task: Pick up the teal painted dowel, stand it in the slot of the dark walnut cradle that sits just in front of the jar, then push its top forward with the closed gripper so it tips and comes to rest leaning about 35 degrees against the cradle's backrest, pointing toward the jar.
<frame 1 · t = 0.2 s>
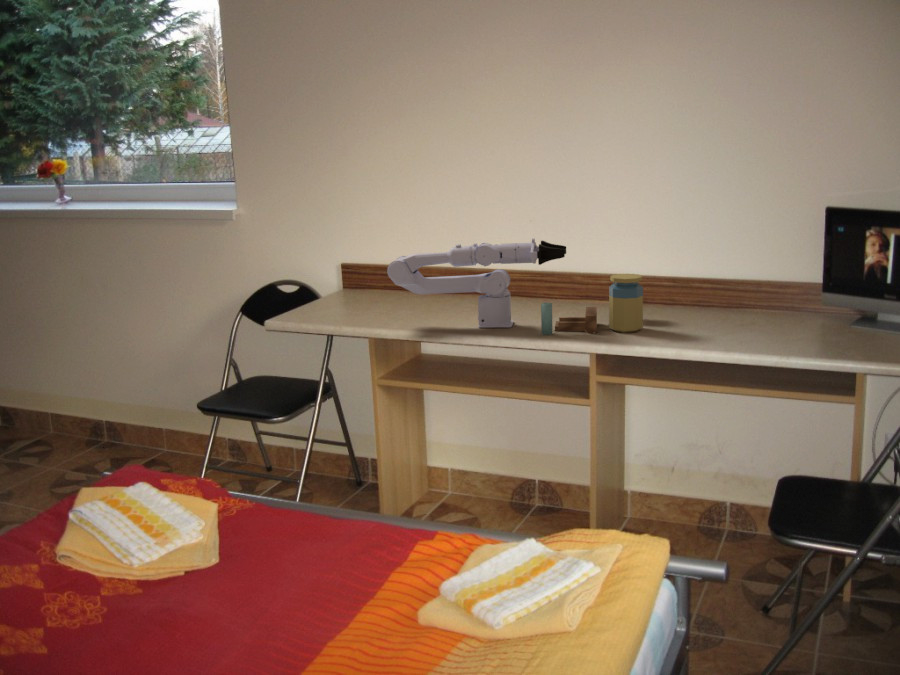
hand: (565, 251, 262), 21 cm above the table, tool horizontal, fingers open, 7 cm apart
peg: (547, 333, 257), on the table
cradle: (567, 328, 263), on the table
jar: (625, 330, 259), on the table
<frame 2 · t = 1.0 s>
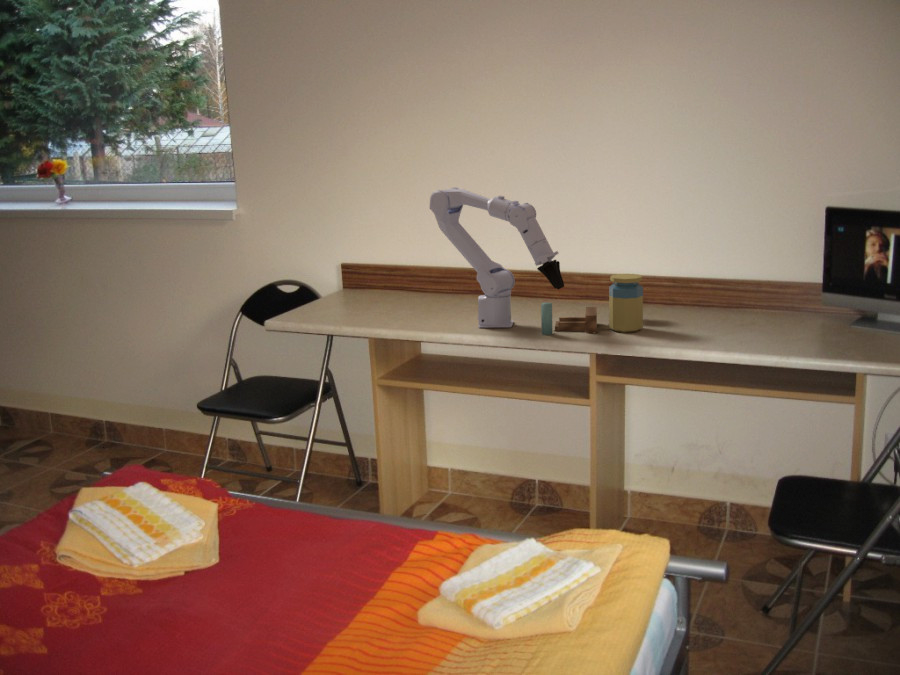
hand: (559, 287, 256), 12 cm above the table, tool tilted 30°, fingers open, 7 cm apart
nothing on the table moved.
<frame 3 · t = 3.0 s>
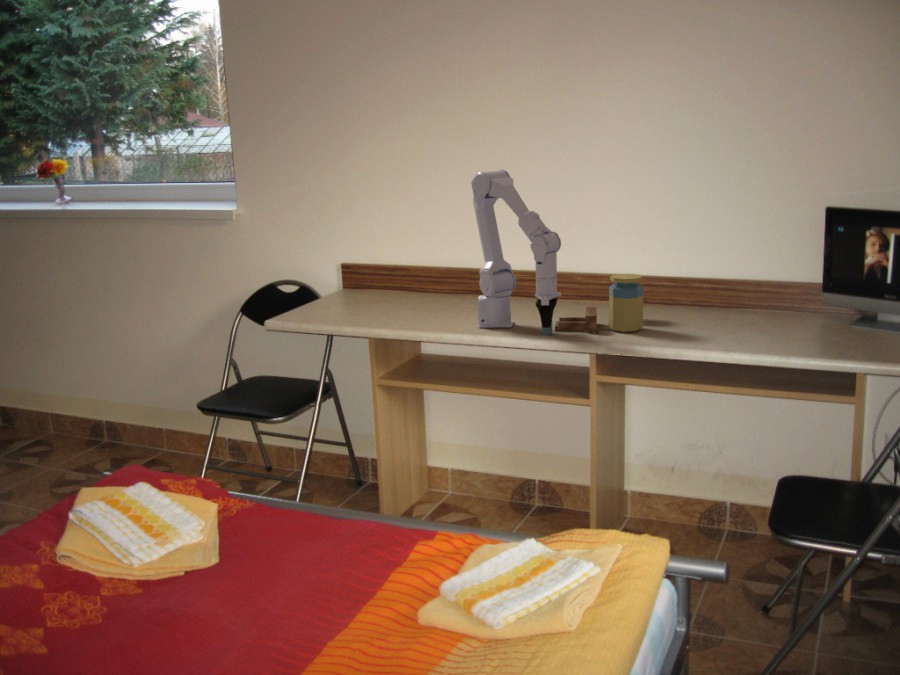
hand: (546, 326, 257), 2 cm above the table, tool pointing down, fingers closed on peg, 3 cm apart
peg: (547, 333, 257), on the table, touching gripper
everything else where it was.
when the fingers open (3 cm above the table, at t = 5.9 s): peg stays where it is, resting in cradle.
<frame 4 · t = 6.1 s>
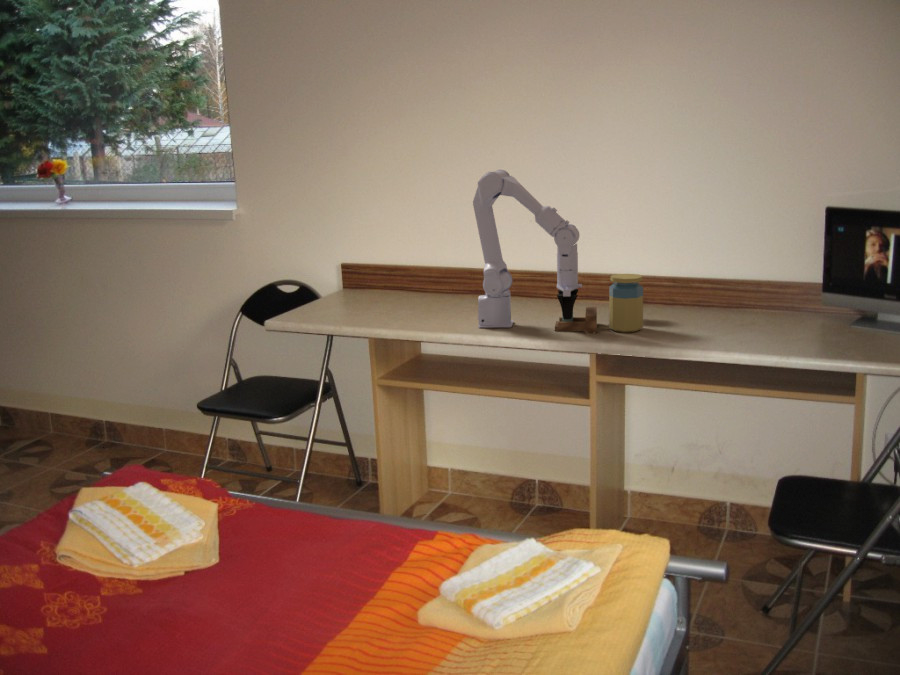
hand: (567, 316, 262), 3 cm above the table, tool pointing down, fingers open, 5 cm apart
peg: (567, 328, 263), resting in cradle
everything else where it was.
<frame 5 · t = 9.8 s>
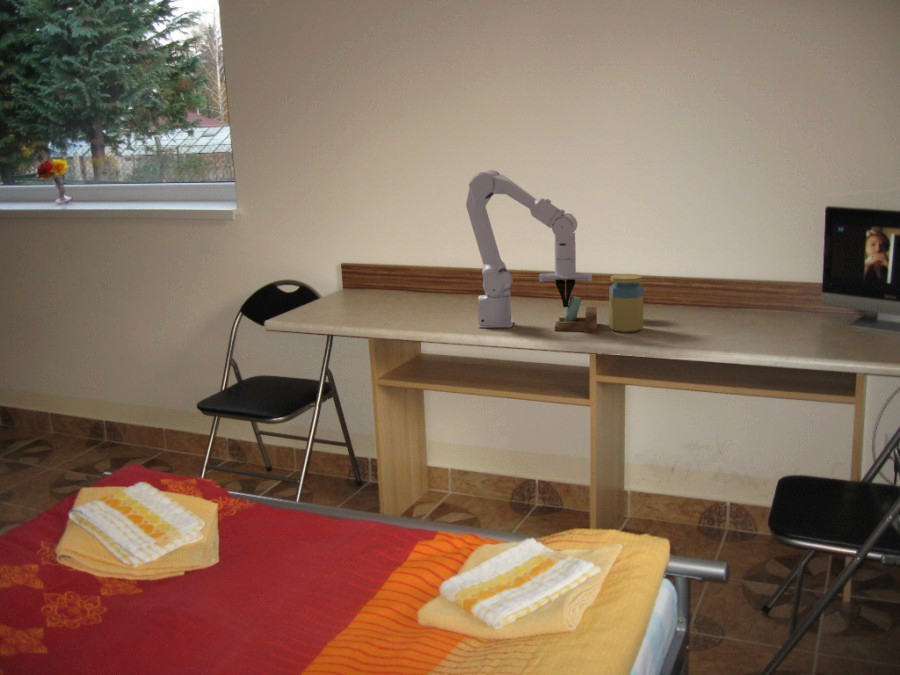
hand: (565, 306, 262), 6 cm above the table, tool pointing down, fingers closed
peg: (568, 326, 263), resting in cradle, tilted 16°, touching gripper
everything else where it was.
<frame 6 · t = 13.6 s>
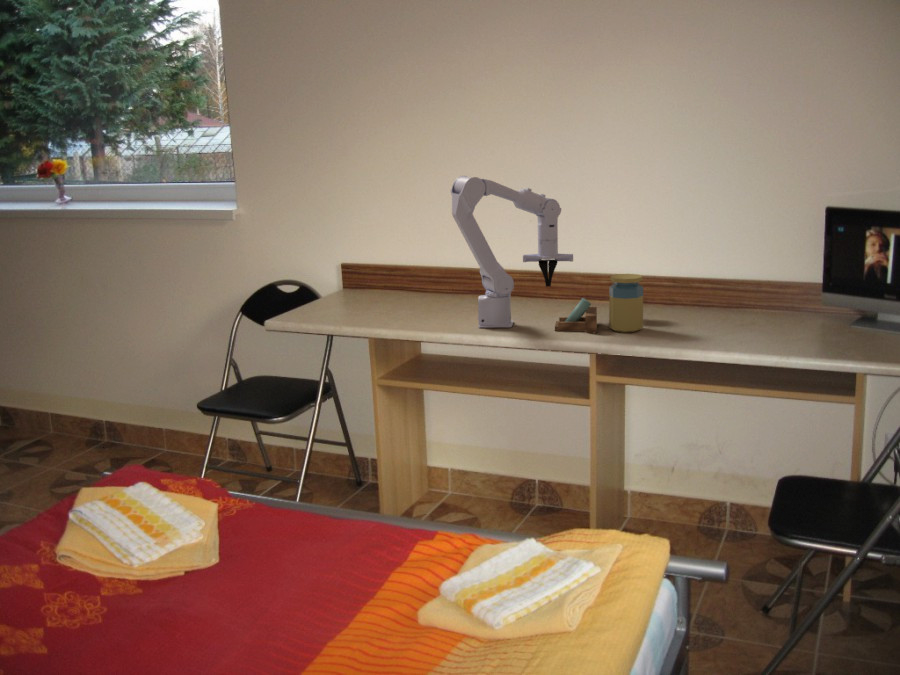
hand: (548, 286, 273), 10 cm above the table, tool pointing down, fingers closed
peg: (568, 325, 263), point 1 cm above the table, tilted 36°, touching cradle
everything else where it was.
at the end: peg tilted 36°; peg inside the target area on the cradle (0.9 cm from its centre), point 0.9 cm above the cradle's base; peg 15.9 cm from the jar (horizontally) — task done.
